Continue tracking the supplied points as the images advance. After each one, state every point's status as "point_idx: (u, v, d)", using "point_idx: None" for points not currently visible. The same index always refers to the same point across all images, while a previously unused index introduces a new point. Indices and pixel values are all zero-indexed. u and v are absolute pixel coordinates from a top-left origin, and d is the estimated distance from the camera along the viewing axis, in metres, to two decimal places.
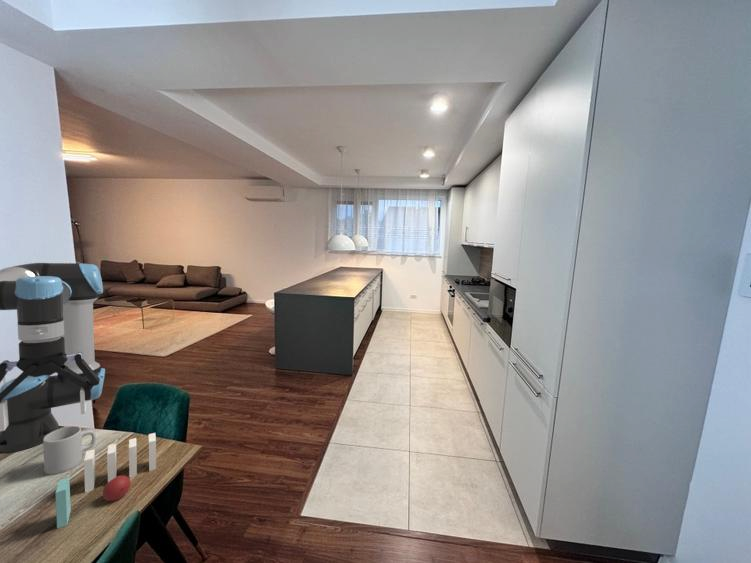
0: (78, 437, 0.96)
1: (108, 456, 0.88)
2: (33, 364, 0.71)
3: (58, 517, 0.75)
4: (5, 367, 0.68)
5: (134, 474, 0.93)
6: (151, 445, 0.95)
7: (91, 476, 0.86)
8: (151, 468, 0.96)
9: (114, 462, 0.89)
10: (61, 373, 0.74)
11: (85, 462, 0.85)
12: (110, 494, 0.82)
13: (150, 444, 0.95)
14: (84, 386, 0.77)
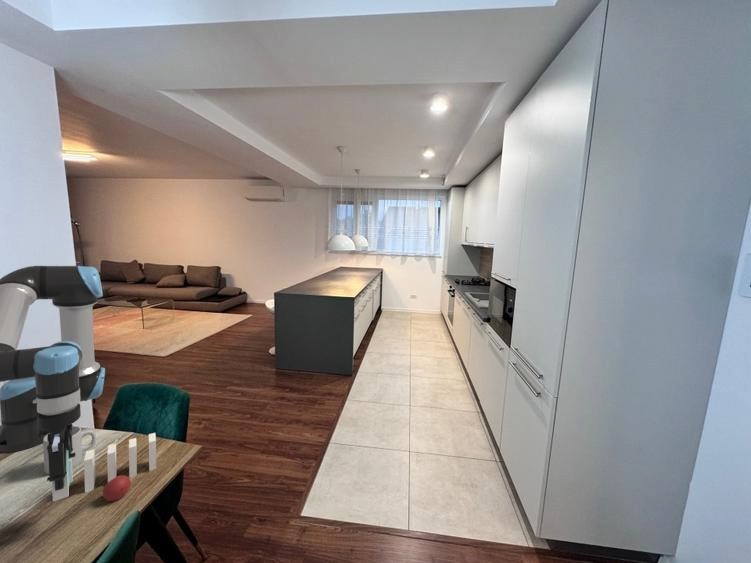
0: (78, 437, 0.96)
1: (108, 456, 0.88)
2: None
3: None
4: None
5: (134, 474, 0.93)
6: (151, 445, 0.95)
7: (91, 476, 0.86)
8: (151, 468, 0.96)
9: (114, 462, 0.89)
10: None
11: (85, 462, 0.85)
12: (110, 494, 0.82)
13: (150, 444, 0.95)
14: None
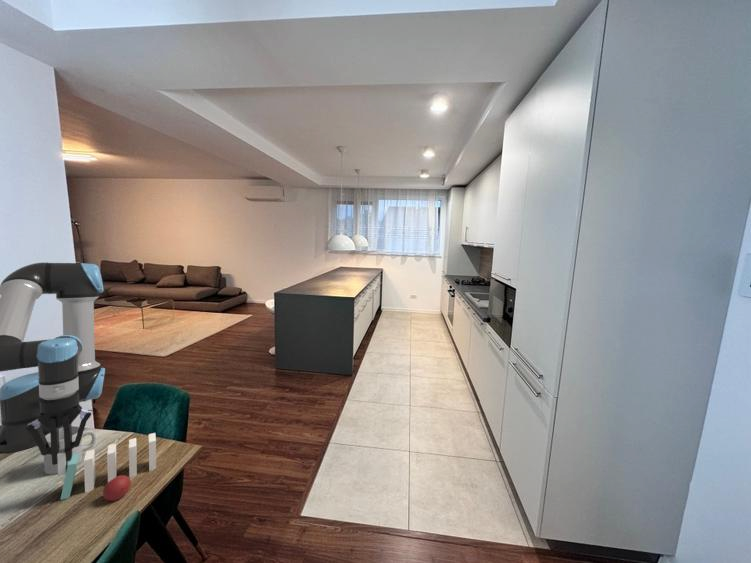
0: None
1: (108, 456, 0.88)
2: (50, 418, 0.80)
3: (64, 489, 0.83)
4: (32, 427, 0.79)
5: (134, 474, 0.93)
6: (151, 445, 0.95)
7: (91, 476, 0.86)
8: (151, 468, 0.96)
9: (114, 462, 0.89)
10: (65, 428, 0.82)
11: (85, 462, 0.85)
12: (110, 494, 0.82)
13: (150, 444, 0.95)
14: (67, 447, 0.83)
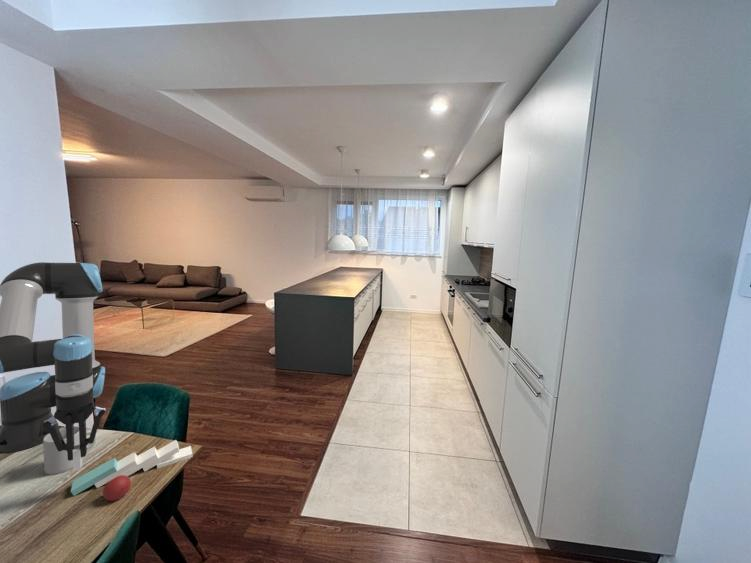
0: (78, 437, 0.96)
1: (153, 456, 0.96)
2: (66, 415, 0.82)
3: (84, 484, 0.86)
4: (49, 424, 0.81)
5: (145, 469, 0.95)
6: (188, 456, 1.02)
7: (115, 476, 0.90)
8: (160, 465, 0.97)
9: (145, 464, 0.95)
10: (80, 425, 0.84)
11: (132, 462, 0.92)
12: (110, 493, 0.82)
13: (189, 455, 1.02)
14: (81, 444, 0.85)
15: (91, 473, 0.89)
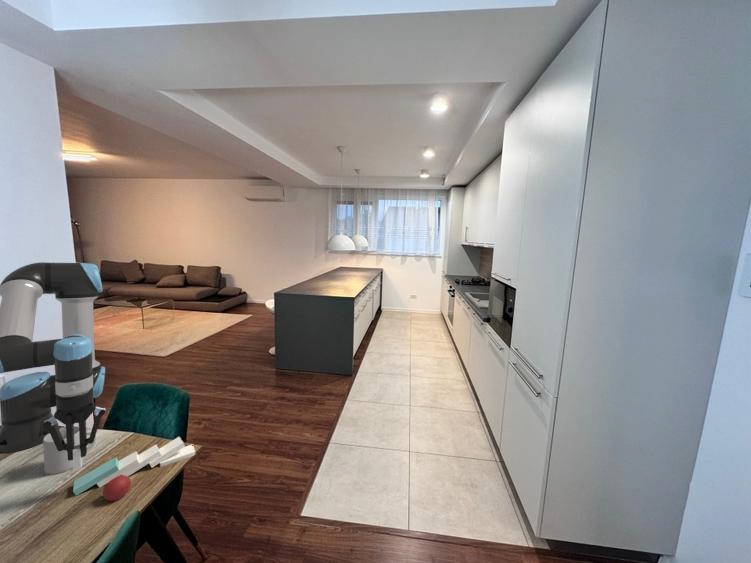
0: (78, 437, 0.96)
1: (156, 453, 0.97)
2: (66, 415, 0.82)
3: (86, 484, 0.86)
4: (49, 424, 0.81)
5: (152, 465, 0.96)
6: (190, 454, 1.03)
7: (117, 475, 0.90)
8: (163, 463, 0.98)
9: (149, 462, 0.96)
10: (80, 425, 0.84)
11: (135, 461, 0.93)
12: (110, 493, 0.83)
13: (192, 453, 1.03)
14: (82, 444, 0.85)
15: (93, 473, 0.89)
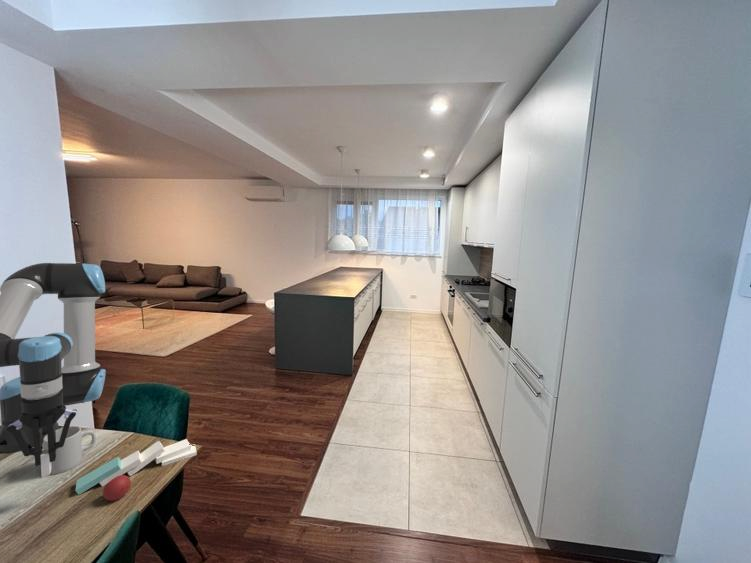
0: (78, 437, 0.96)
1: (160, 450, 0.98)
2: (32, 419, 0.78)
3: (89, 483, 0.86)
4: (14, 428, 0.77)
5: (158, 461, 0.97)
6: (192, 454, 1.03)
7: (119, 475, 0.91)
8: (165, 463, 0.98)
9: (153, 458, 0.97)
10: (48, 428, 0.80)
11: (137, 460, 0.93)
12: (110, 493, 0.83)
13: (193, 453, 1.03)
14: (50, 448, 0.81)
15: (95, 472, 0.89)
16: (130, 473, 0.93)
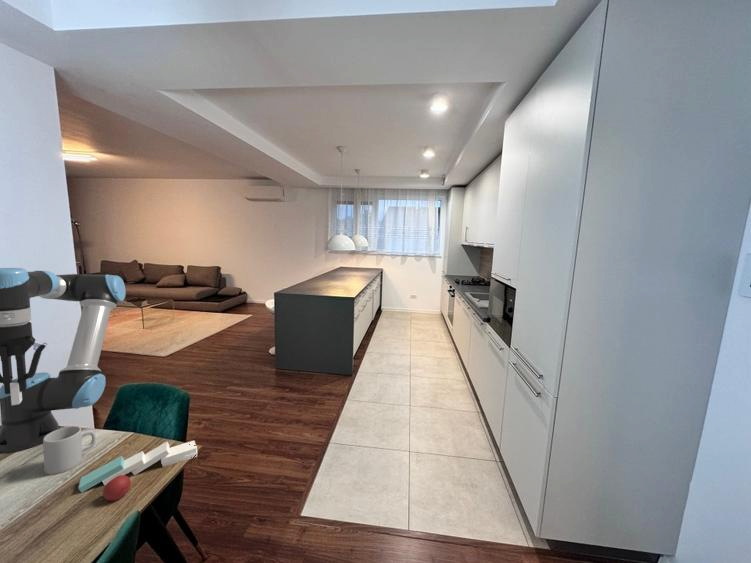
0: (78, 437, 0.96)
1: (164, 452, 0.97)
2: (0, 346, 0.80)
3: (91, 481, 0.87)
4: None
5: (163, 461, 0.97)
6: (192, 455, 1.02)
7: None
8: (165, 463, 0.98)
9: (157, 460, 0.96)
10: (17, 358, 0.82)
11: (140, 461, 0.93)
12: (110, 493, 0.83)
13: (194, 454, 1.03)
14: (20, 377, 0.83)
15: (98, 471, 0.90)
16: (134, 472, 0.93)
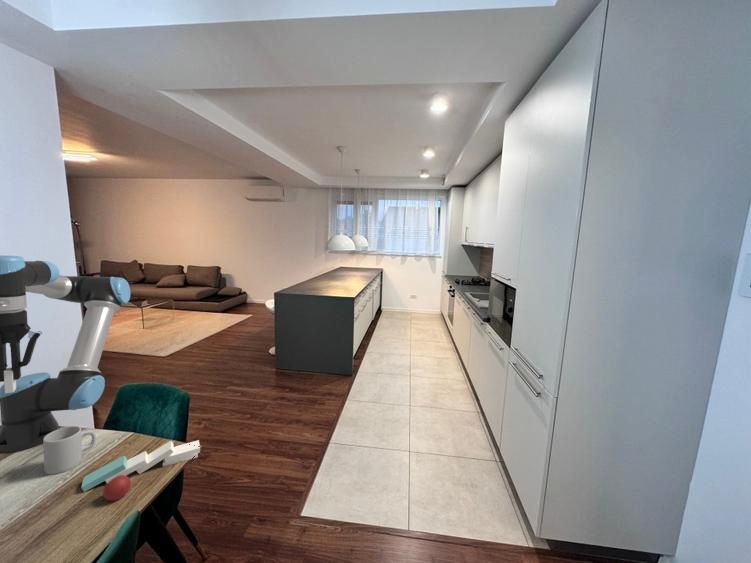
0: (78, 437, 0.96)
1: (168, 451, 0.98)
2: None
3: (94, 481, 0.87)
4: None
5: (167, 460, 0.98)
6: (193, 456, 1.02)
7: (125, 474, 0.91)
8: (166, 463, 0.98)
9: (162, 459, 0.97)
10: (11, 345, 0.82)
11: (143, 461, 0.94)
12: (110, 493, 0.83)
13: (195, 455, 1.02)
14: (14, 365, 0.83)
15: (101, 470, 0.90)
16: (139, 471, 0.94)
